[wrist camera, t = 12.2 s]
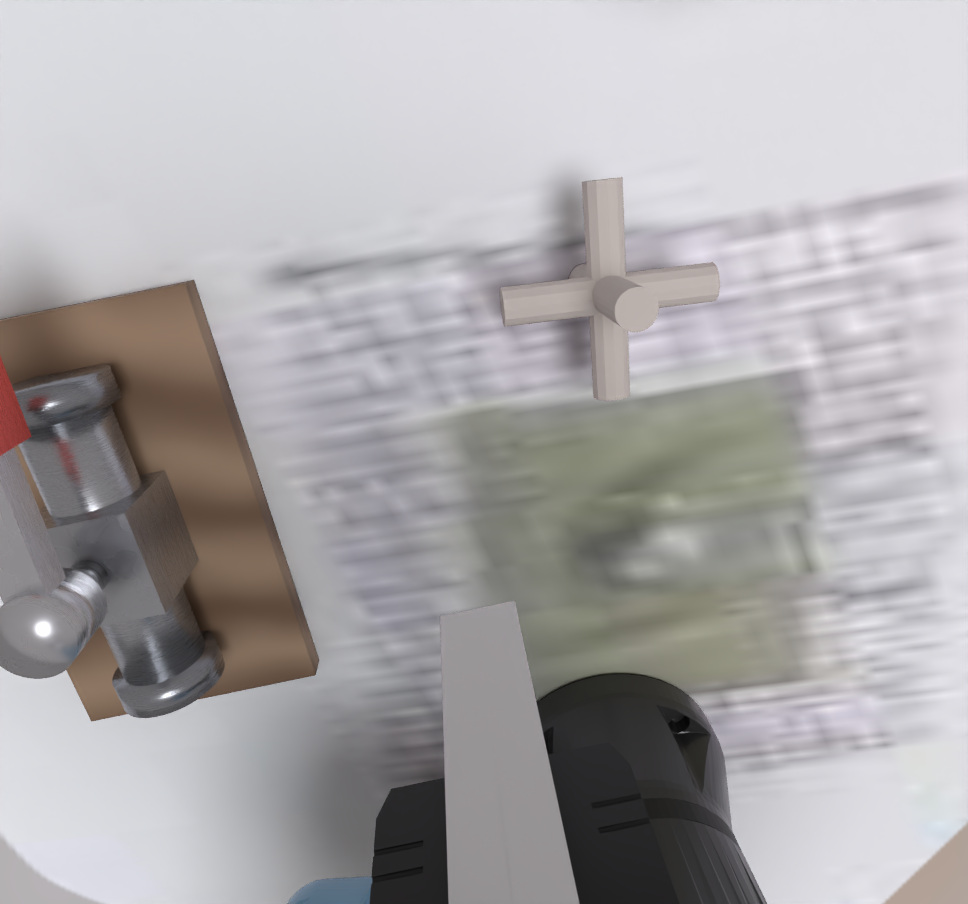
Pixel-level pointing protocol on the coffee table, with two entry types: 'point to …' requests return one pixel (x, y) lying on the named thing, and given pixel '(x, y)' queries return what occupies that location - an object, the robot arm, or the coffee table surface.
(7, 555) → the valve handle
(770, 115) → the coffee table surface
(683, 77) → the coffee table surface
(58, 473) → the valve body
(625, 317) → the pipe connector
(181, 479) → the walnut board
